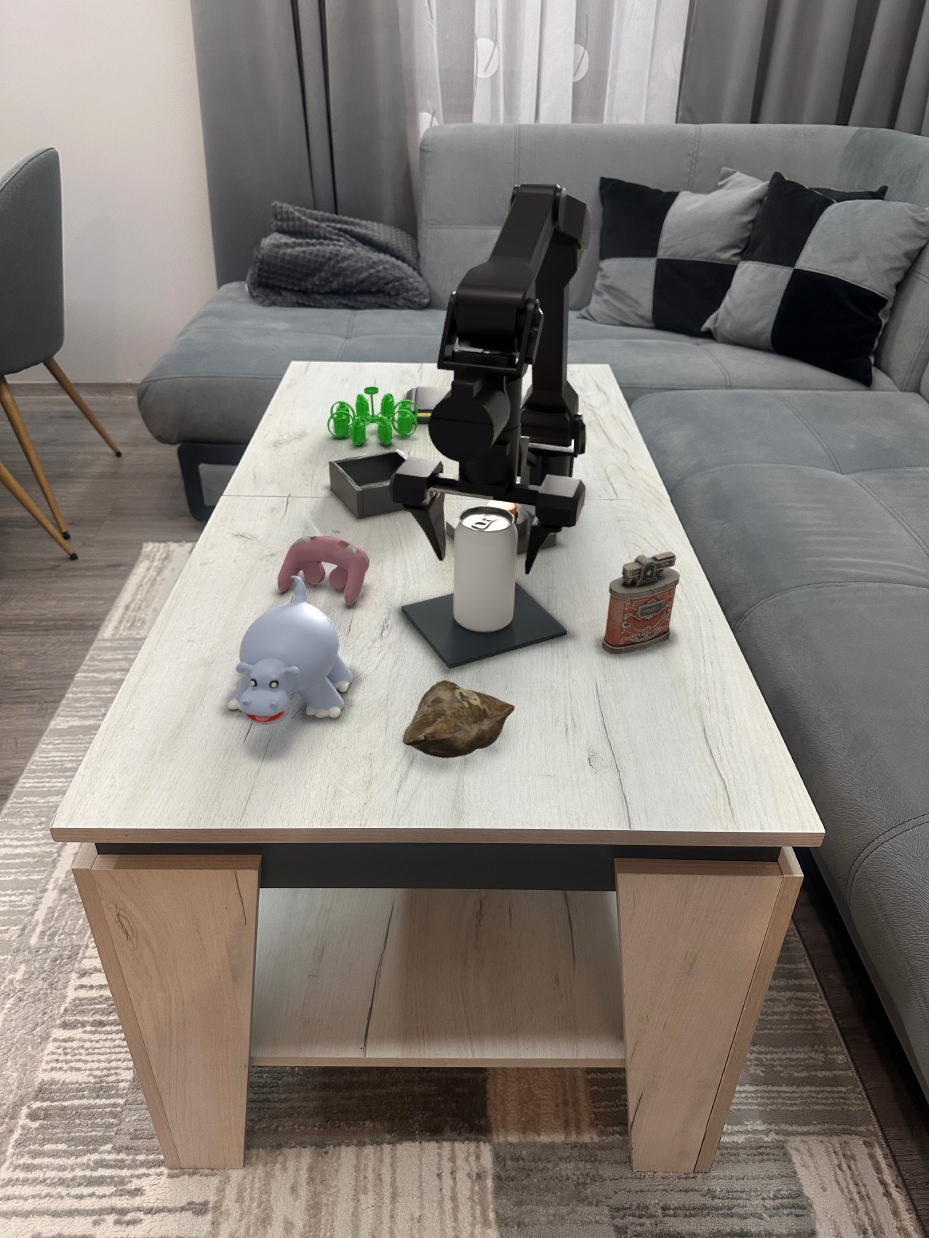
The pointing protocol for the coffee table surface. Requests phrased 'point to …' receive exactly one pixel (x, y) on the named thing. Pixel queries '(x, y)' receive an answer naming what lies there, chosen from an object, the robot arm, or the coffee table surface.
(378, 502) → the box
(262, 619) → the hippopotamus toy
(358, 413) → the chandelier
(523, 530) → the button box
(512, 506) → the button
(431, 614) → the mat
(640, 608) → the lighter
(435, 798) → the coffee table surface
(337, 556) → the video game controller
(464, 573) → the can
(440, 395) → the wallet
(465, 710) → the fossilized seashell
